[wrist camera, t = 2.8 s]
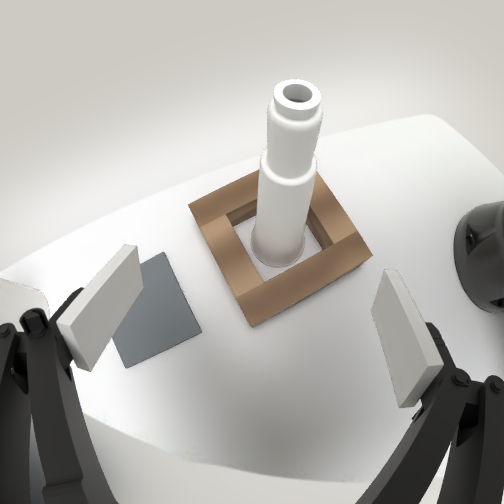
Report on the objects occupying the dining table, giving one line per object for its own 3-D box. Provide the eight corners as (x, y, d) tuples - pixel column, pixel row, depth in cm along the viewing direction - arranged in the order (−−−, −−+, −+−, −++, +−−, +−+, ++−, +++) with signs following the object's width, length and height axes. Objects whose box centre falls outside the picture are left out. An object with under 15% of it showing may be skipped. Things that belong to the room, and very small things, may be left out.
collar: (360, 264, 32) (372, 255, 28) (252, 327, 31) (250, 326, 27) (297, 169, 36) (301, 150, 32) (195, 219, 34) (187, 204, 30)
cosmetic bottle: (252, 215, 34) (237, 55, 13) (304, 217, 34) (350, 63, 13) (249, 266, 32) (225, 139, 11) (304, 268, 32) (371, 148, 11)
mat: (202, 332, 31) (201, 332, 30) (127, 367, 30) (125, 368, 29) (164, 253, 33) (163, 251, 33) (97, 291, 32) (94, 290, 32)
